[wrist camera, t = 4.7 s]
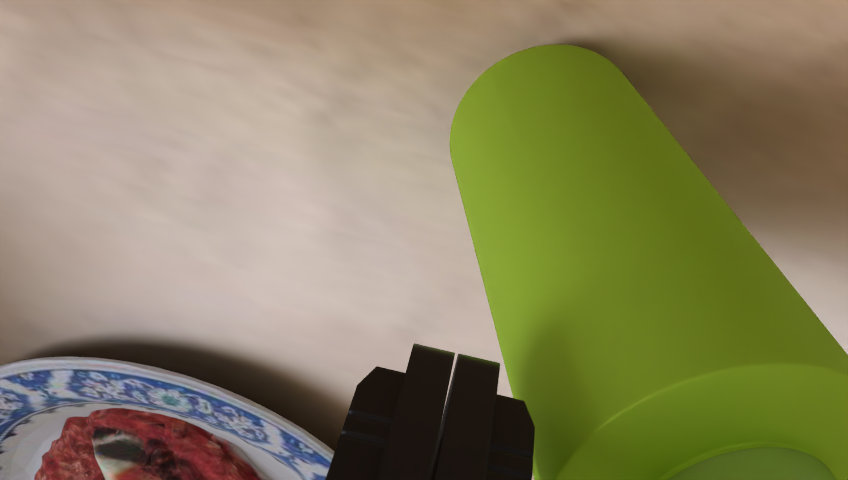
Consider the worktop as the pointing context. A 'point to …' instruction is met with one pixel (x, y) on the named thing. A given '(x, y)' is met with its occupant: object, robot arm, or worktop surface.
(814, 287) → the worktop surface
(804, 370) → the soap dispenser
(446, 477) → the robot arm
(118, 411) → the ceramic plate
